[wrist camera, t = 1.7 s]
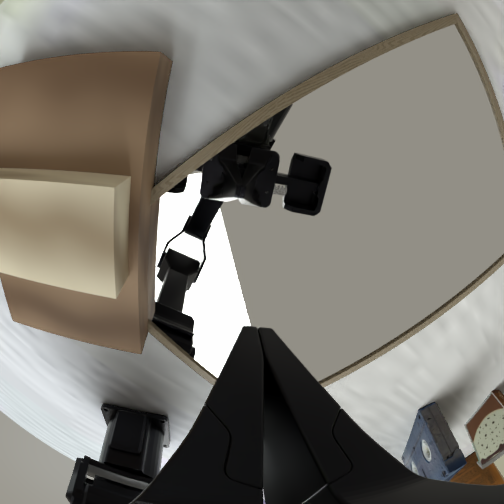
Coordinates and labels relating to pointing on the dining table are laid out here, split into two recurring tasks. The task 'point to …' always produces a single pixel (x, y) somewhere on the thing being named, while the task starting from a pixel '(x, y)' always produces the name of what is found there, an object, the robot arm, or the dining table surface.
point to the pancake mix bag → (478, 473)
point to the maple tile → (65, 228)
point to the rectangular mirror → (336, 210)
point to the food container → (488, 429)
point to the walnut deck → (88, 160)
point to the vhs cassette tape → (433, 446)
